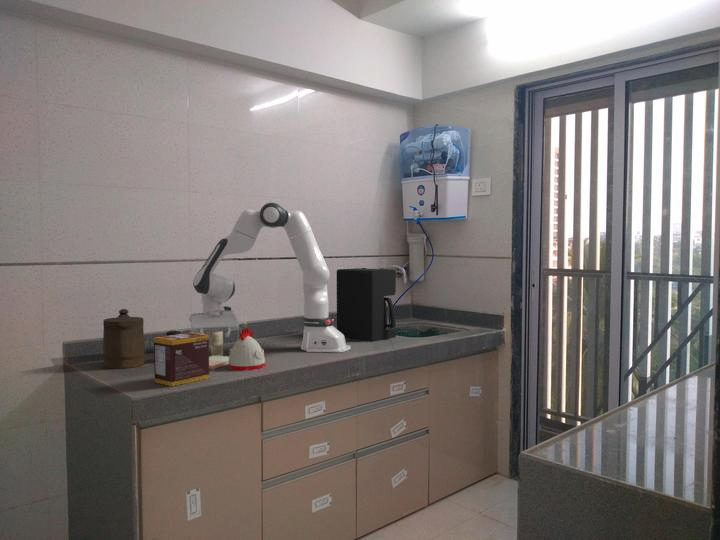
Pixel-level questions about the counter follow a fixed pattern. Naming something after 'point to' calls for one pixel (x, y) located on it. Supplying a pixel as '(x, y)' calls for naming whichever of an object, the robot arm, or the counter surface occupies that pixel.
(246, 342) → the kitchen timer
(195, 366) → the supplement box
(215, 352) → the beige cylinder
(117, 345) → the wooden container
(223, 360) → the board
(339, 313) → the coffee maker
